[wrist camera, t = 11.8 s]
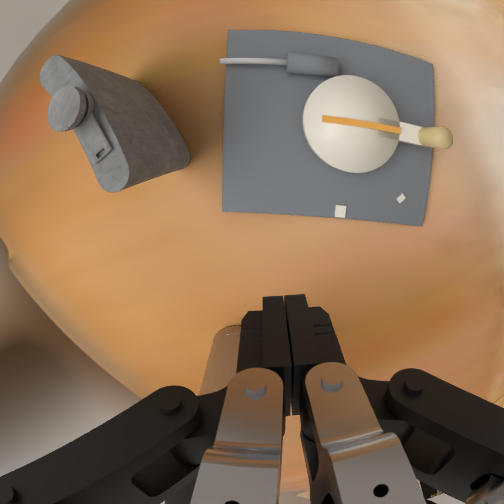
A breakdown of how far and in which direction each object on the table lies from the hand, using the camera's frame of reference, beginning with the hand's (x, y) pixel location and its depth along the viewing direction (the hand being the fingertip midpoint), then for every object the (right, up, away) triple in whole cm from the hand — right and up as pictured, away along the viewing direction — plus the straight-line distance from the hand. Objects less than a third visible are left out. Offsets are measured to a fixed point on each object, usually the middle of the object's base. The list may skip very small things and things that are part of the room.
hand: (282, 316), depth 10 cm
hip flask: (-14, +20, +23) cm, 34 cm away
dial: (+13, +18, +20) cm, 30 cm away
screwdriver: (+3, +26, +17) cm, 32 cm away
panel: (+10, +19, +22) cm, 31 cm away
